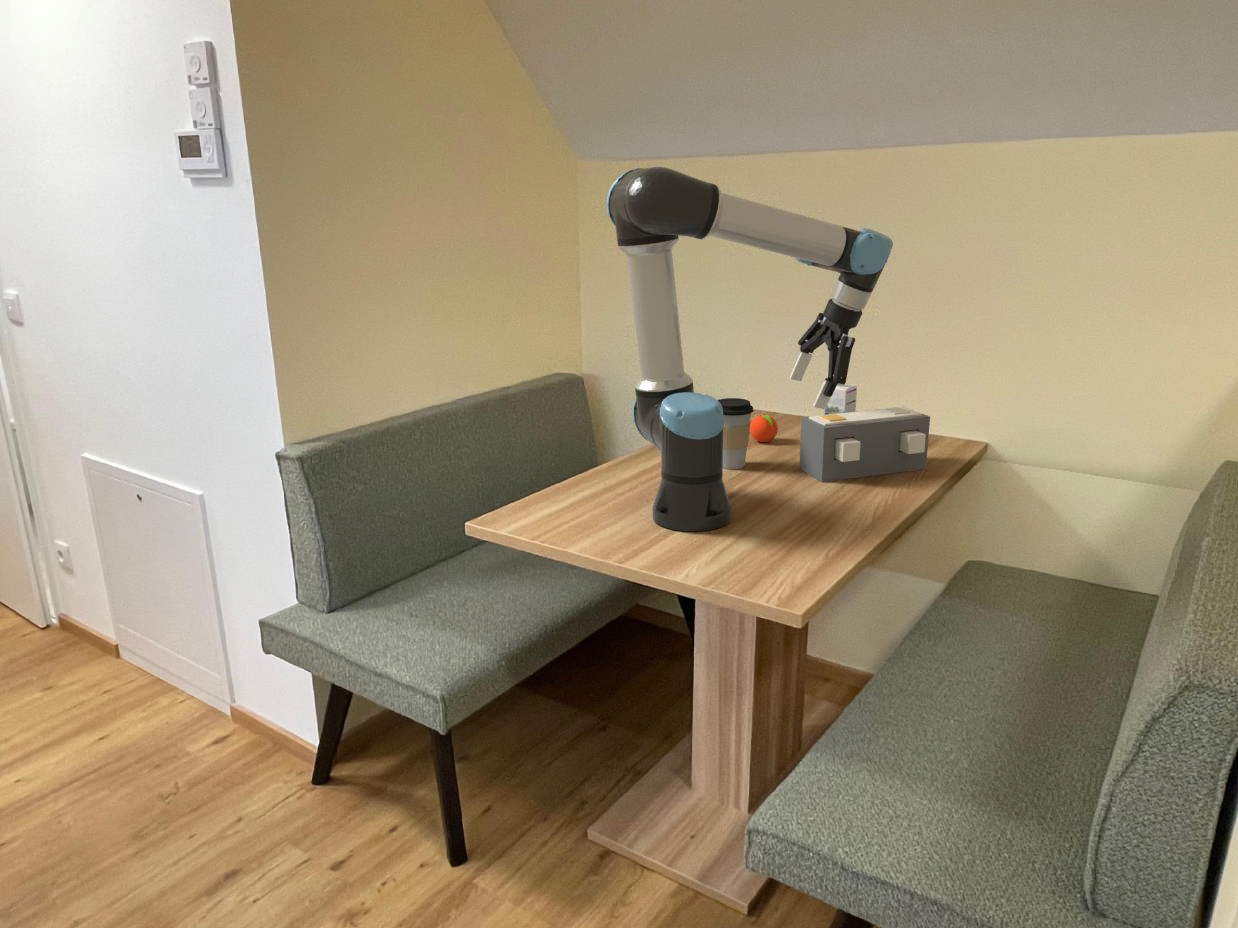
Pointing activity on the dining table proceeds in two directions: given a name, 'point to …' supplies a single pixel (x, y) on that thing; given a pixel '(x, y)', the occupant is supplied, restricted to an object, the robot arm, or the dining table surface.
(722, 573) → the dining table surface
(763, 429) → the clementine
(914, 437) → the right button
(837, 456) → the left button
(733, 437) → the coffee cup
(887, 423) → the console
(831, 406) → the syrup box
